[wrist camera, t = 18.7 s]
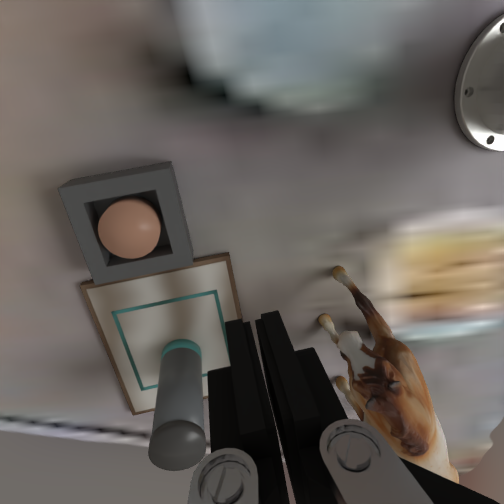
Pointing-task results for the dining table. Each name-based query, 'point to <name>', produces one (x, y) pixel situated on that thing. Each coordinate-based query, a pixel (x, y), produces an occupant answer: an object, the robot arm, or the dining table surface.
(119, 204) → the button
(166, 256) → the button base
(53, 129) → the dining table surface
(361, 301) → the horse figurine
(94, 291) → the board
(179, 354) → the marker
